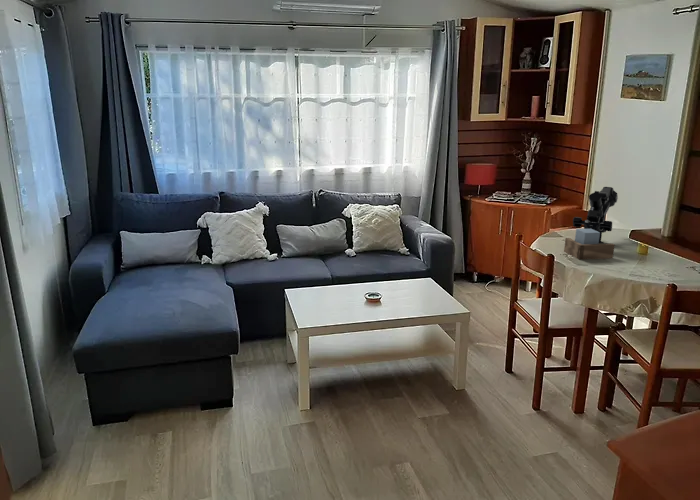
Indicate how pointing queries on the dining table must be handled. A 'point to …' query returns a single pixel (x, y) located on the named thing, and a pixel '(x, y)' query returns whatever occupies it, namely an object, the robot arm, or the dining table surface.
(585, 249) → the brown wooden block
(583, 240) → the slate block
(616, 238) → the dining table surface
